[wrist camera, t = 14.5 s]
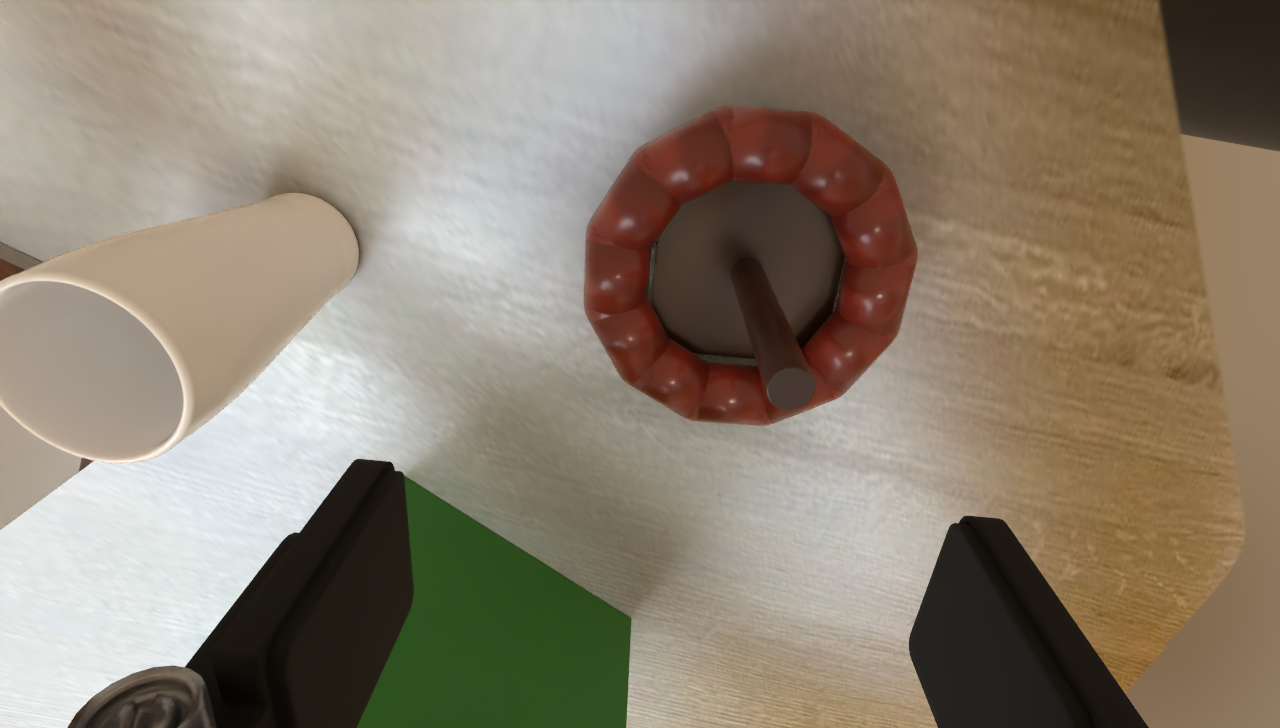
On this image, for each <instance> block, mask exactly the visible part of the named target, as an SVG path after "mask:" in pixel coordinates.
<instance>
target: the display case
mask: <svg viewBox="0 0 1280 728" xmlns="http://www.w3.org/2000/svg"><path fill="white" fill-rule="evenodd" d="M40 263H43V262H41V261H39V260H37V259H35V258H33V257H31V256H28V255H26V254H24V253H22V252H20V251H18V250H16V249H13V248H11V247H9V246H7V245H5V244H3V243H0V281H1V280H3V279H5V278H7V277H10V276H12V275H15V274H17V273H20V272H22V271H24V270H26V269H29V268H31V267H33V266H36V265H38V264H40ZM93 461H94V460H89V459H85V458H82V457H78V456H76V455H73V454H70V453H67V452H65V451H63V450H60V449H58V448H56V447H54V446H52V445H50V444H48V443H46V442H45V441H43V440H41V439H40V438H38V437H37V436H35V435H34V434H32V433H31V432H29V431H28V430H27V429H25V428H24V427H23V426H21V425H20V424H19V423H18V422H17V421H15V420H14V419H13V418H12V417H11V416H10V415H9V414H8V413H7V412H6V411H5V410H4V409H3V408H2V407H1V405H0V530H1V529H2V528H4V527H5V526H6V525H8V524H9V523H10V522H12V521H13V520H15V519H16V518H17V517H19V516H20V515H21V514H23V513H24V512H25V511H27V510H28V509H29V508H31V507H32V506H33V505H35V504H36V503H38V502H39V501H40V500H42V499H43V498H44V497H46V496H47V495H48V494H50V493H51V492H52V491H54V490H55V489H56V488H58V487H59V486H61V485H62V484H63V483H65V482H66V481H67V480H69V479H70V478H71V477H73V476H74V475H75V474H77V473H78V472H79V471H81V470H82V469H84V468H85V467H86V466H88V465H89V464H90V463H92V462H93Z"/></svg>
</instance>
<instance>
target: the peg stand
mask: <svg viewBox="0 0 1280 728" xmlns="http://www.w3.org/2000/svg"><path fill="white" fill-rule="evenodd" d="M844 258H845V255H844V253H843V250H842V247H841V245H840V242H839V239H838V237H837V234H836V231H835V229H834V226H833V223H832V220H831V218H830V215H829V214H828V213H826V212H825V211H824V210H822V209H821V208H819V207H818V206H817V205H815V204H814V203H813V202H811V201H810V200H808V199H807V198H806V197H804V196H803V195H802V194H800V193H799V192H798V191H796V190H795V189H793V188H792V187H791V186H789V185H786V184H773V183H759V182H746V181H731V182H729V183H727V184H725V185H723V186H720V187H718V188H716V189H714V190H712V191H710V192H708V193H706V194H704V195H702V196H700V197H698V198H695V199H693V200H691V201H689V202H687V203H685V204H683V205H682V206H681V207H680V208H679V210H678V211H677V213H676V214H675V216H674V217H673V218H672V220H671V221H670V223H669V224H668V226H667V227H666V228H665V230H664V231H663V233H662V234H661V236H660V237H659V238H658V240H657V249H656V259H655V268H654V278H653V288H652V297H651V304H652V306H653V308H654V310H655V312H656V314H657V316H658V318H659V320H660V322H661V324H662V326H663V328H664V330H665V332H666V334H667V336H668V338H670V339H672V340H673V341H675V342H676V343H678V344H679V345H681V346H683V347H684V348H686V349H687V350H689V351H691V352H692V353H695V354H706V355H717V356H727V357H738V358H749V359H756V361H757V364H758V367H759V371H760V374H761V377H762V381H763V384H764V387H765V390H766V394H767V397H768V399H769V401H770V402H771V403H772V404H773V405H774V406H776V407H778V408H780V409H783V410H795V409H799V408H801V407H803V406H805V405H806V404H808V403H809V402H810V400H811V399H812V398H813V396H814V394H815V390H816V383H815V380H814V377H813V375H812V373H811V371H810V369H809V367H808V364H807V362H806V360H805V358H804V356H803V354H802V351H801V349H800V348H801V347H803V346H804V345H805V344H806V343H807V342H808V340H809V339H810V338H811V337H812V336H813V335H814V333H815V332H816V331H817V330H818V329H819V328H820V326H821V325H822V324H823V323H824V322H825V321H826V320H827V318H828V317H829V316H830V315H831V314H832V310H833V306H834V302H835V297H836V293H837V289H838V284H839V280H840V276H841V271H842V267H843V263H844Z"/></svg>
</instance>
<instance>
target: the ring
mask: <svg viewBox="0 0 1280 728" xmlns="http://www.w3.org/2000/svg"><path fill="white" fill-rule="evenodd" d="M731 181H746V182H759V183H773V184H786V185H789V186H791V187H792V188H793V189H795V190H796V191H798V192H799V193H800V194H802V195H803V196H804V197H806V198H807V199H808V200H810V201H811V202H813V203H814V204H815V205H817V206H818V207H819V208H821V209H822V210H824V211H825V212H826V213H828V214H829V215H830V218H831V220H832V223H833V226H834V229H835V231H836V234H837V237H838V239H839V242H840V245H841V247H842V250H843V253H844V255H845V258H846V264H845V269H844V274H843V278H842V283H841V288H840V293H839V298H838V302H837V307H836V309H835V310H834V311H833V313H832V314H831V315H830V316H829V317H828V318H827V320H826V321H825V322H824V323H823V324H822V325H821V326H820V328H819V329H818V330H817V331H816V332H815V333H814V335H813V336H812V337H811V338H810V339H809V340H808V342H807V343H806V344H805V345H804V346H803V347H801V348H800V349H801V351H802V354H803V356H804V358H805V360H806V362H807V364H808V367H809V369H810V371H811V373H812V375H813V377H814V380H815V383H816V390H815V394H814V396H813V398H812V399H811V400H810V402H809V403H808V404H806V405H805V406H803V407H801V408H799V409H795V410H783V409H780V408H778V407H776V406H774V405H773V404H772V403H771V402H770V401H769V399H768V397H767V394H766V390H765V387H764V384H763V381H762V377H761V374H760V371H759V367H758V365H757V366H752V365H738V364H724V363H710V362H706V361H705V360H703V359H702V358H700V357H698V356H697V355H695V354H694V353H692V352H691V351H689V350H687V349H686V348H684V347H683V346H681V345H679V344H678V343H676V342H675V341H673V340H672V339H670V338H668V336H667V334H666V332H665V330H664V328H663V326H662V324H661V322H660V320H659V318H658V316H657V314H656V312H655V310H654V308H653V306H652V304H651V303H650V301H649V299H648V285H649V272H650V259H651V248H652V247H653V246H654V244H655V243H656V241H657V240H658V238H659V237H660V236H661V234H662V233H663V231H664V230H665V228H666V227H667V226H668V224H669V223H670V221H671V220H672V218H673V217H674V216H675V214H676V213H677V211H678V210H679V208H680V207H681V206H682V205H683V204H685V203H687V202H689V201H691V200H693V199H695V198H698V197H700V196H702V195H704V194H706V193H708V192H710V191H712V190H714V189H716V188H718V187H720V186H723V185H725V184H727V183H729V182H731ZM917 256H918V255H917V247H916V243H915V240H914V237H913V234H912V230H911V227H910V224H909V221H908V218H907V215H906V212H905V209H904V206H903V203H902V199H901V196H900V193H899V190H898V187H897V184H896V181H895V178H894V176H893V173H892V172H891V170H890V169H889V168H888V166H887V165H885V164H884V163H883V162H882V161H881V160H879V159H878V158H877V157H875V156H874V155H873V154H872V153H870V152H869V151H868V150H866V149H865V148H864V147H862V146H861V145H860V144H859V143H857V142H856V141H855V140H853V139H852V138H851V137H850V136H848V135H847V134H846V133H844V132H843V131H842V130H840V129H839V128H838V127H837V126H835V125H834V124H833V123H831V122H830V121H829V120H827V119H826V118H825V117H823V116H822V115H820V114H817V113H814V112H806V111H793V110H779V109H766V108H752V107H739V106H723V107H719V108H716V109H714V110H712V111H710V112H708V113H706V114H704V115H702V116H700V117H698V118H696V119H694V120H692V121H690V122H688V123H686V124H684V125H682V126H680V127H678V128H676V129H674V130H672V131H670V132H668V133H666V134H664V135H662V136H660V137H658V138H656V139H654V140H652V141H651V142H649V143H647V144H645V145H643V146H641V147H640V148H639V149H637V150H636V151H635V152H634V153H633V155H632V156H631V157H630V159H629V161H628V162H627V164H626V165H625V167H624V168H623V170H622V171H621V173H620V175H619V176H618V178H617V179H616V181H615V182H614V184H613V185H612V187H611V188H610V190H609V192H608V193H607V195H606V196H605V198H604V199H603V201H602V202H601V204H600V206H599V207H598V209H597V210H596V212H595V213H594V215H593V216H592V218H591V220H590V222H589V224H588V227H587V231H586V251H585V282H584V310H585V313H586V316H587V318H588V320H589V322H590V323H591V325H592V327H593V329H594V331H595V332H596V334H597V336H598V338H599V340H600V341H601V343H602V345H603V347H604V348H605V350H606V352H607V354H608V356H609V357H610V359H611V361H612V363H613V365H614V366H615V368H616V370H617V372H618V373H619V375H620V376H621V378H622V379H623V380H624V381H625V382H626V383H628V384H629V385H631V386H632V387H634V388H636V389H637V390H639V391H641V392H642V393H644V394H646V395H647V396H649V397H651V398H652V399H654V400H655V401H657V402H659V403H660V404H662V405H664V406H665V407H667V408H669V409H670V410H672V411H674V412H675V413H677V414H679V415H680V416H682V417H684V418H686V419H688V420H692V421H700V422H714V423H728V424H742V425H756V426H766V425H771V424H774V423H776V422H779V421H781V420H784V419H786V418H789V417H792V416H794V415H797V414H799V413H802V412H804V411H807V410H809V409H812V408H815V407H817V406H820V405H822V404H825V403H827V402H830V401H832V400H835V399H837V398H839V397H841V396H842V395H843V394H844V393H845V392H846V391H847V390H848V389H849V388H850V387H851V386H852V385H853V384H854V383H855V382H856V381H857V380H858V379H859V377H860V376H861V375H862V374H863V373H864V372H865V371H866V370H867V369H868V368H869V367H870V366H871V364H872V363H873V362H874V361H875V360H876V359H877V358H878V357H879V356H880V355H881V354H882V353H883V351H884V350H885V349H886V348H887V347H888V346H889V345H890V344H891V343H892V342H893V340H894V339H895V337H896V336H897V334H898V332H899V329H900V325H901V321H902V317H903V313H904V310H905V306H906V302H907V298H908V294H909V290H910V286H911V282H912V278H913V274H914V270H915V266H916V263H917Z"/></svg>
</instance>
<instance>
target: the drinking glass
mask: <svg viewBox="0 0 1280 728" xmlns="http://www.w3.org/2000/svg"><path fill="white" fill-rule="evenodd" d="M358 262H359V248H358V243H357V239H356V236H355V234H354V231H353V229H352V228H351V226H350V224H349V223H348V221H347V220H346V219H345V217H344V216H343V215H342V214H341V213H340V212H339V211H338V210H337V209H336V208H334V207H333V206H332V205H330V204H329V203H327V202H325V201H324V200H322V199H320V198H317V197H315V196H312V195H308V194H303V193H284V194H279V195H275V196H273V197H270V198H268V199H265V200H262V201H260V202H256V203H252V204H248V205H244V206H240V207H236V208H232V209H228V210H224V211H219V212H215V213H211V214H207V215H202V216H198V217H194V218H189V219H185V220H180V221H176V222H172V223H167V224H163V225H159V226H154V227H150V228H146V229H142V230H138V231H133V232H130V233H126V234H122V235H119V236H115V237H112V238H108V239H105V240H102V241H99V242H95V243H92V244H89V245H86V246H83V247H81V248H78V249H75V250H72V251H70V252H67V253H65V254H62V255H59V256H57V257H55V258H52V259H50V260H47V261H45V262H43V263H40V264H38V265H36V266H33V267H31V268H29V269H26V270H24V271H22V272H20V273H17V274H15V275H12V276H10V277H7V278H5V279H3V280H1V281H0V405H1V407H2V408H3V409H4V410H5V411H6V412H7V413H8V414H9V415H10V416H11V417H12V418H13V419H14V420H15V421H17V422H18V423H19V424H20V425H21V426H23V427H24V428H25V429H27V430H28V431H29V432H31V433H32V434H34V435H35V436H37V437H38V438H40V439H41V440H43V441H45V442H46V443H48V444H50V445H52V446H54V447H56V448H58V449H60V450H63V451H65V452H67V453H70V454H73V455H76V456H78V457H82V458H85V459H89V460H94V461H99V462H106V463H135V462H141V461H145V460H149V459H152V458H155V457H158V456H160V455H162V454H164V453H166V452H167V451H169V450H170V449H172V448H173V447H174V446H176V445H177V444H178V443H180V442H181V441H182V440H184V439H185V438H186V437H188V436H189V435H191V434H192V433H193V432H195V431H196V430H197V429H199V428H200V427H201V426H203V425H204V424H205V423H207V422H208V421H209V420H210V419H212V418H213V417H214V416H215V415H217V414H218V413H219V412H220V411H221V410H223V409H224V408H225V407H226V406H227V405H229V404H230V403H231V402H232V401H233V400H234V399H235V398H237V397H238V396H239V395H240V394H241V393H242V392H243V391H244V390H245V389H246V388H247V387H248V386H249V385H250V384H251V383H252V382H253V381H254V380H255V379H256V378H257V377H258V376H259V375H260V374H261V373H262V372H263V371H264V370H265V369H266V368H267V367H268V366H269V364H270V363H271V362H272V361H273V360H274V359H275V358H276V357H277V356H278V355H279V354H280V352H281V351H282V350H283V349H284V348H285V347H286V346H287V345H288V344H289V343H290V342H291V340H292V339H293V338H294V337H295V336H296V335H297V334H298V333H299V332H300V331H301V330H302V329H303V328H304V326H305V325H306V324H307V323H308V322H309V321H310V320H311V319H312V318H313V317H314V316H315V315H316V314H317V313H318V312H319V311H320V310H321V308H322V307H323V306H324V305H325V304H326V303H327V302H328V301H329V300H330V299H331V298H332V297H333V296H335V295H336V294H337V293H339V292H340V291H341V290H342V289H343V288H345V287H346V286H347V285H348V283H349V282H350V281H351V280H352V278H353V276H354V275H355V272H356V270H357V266H358Z"/></svg>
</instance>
